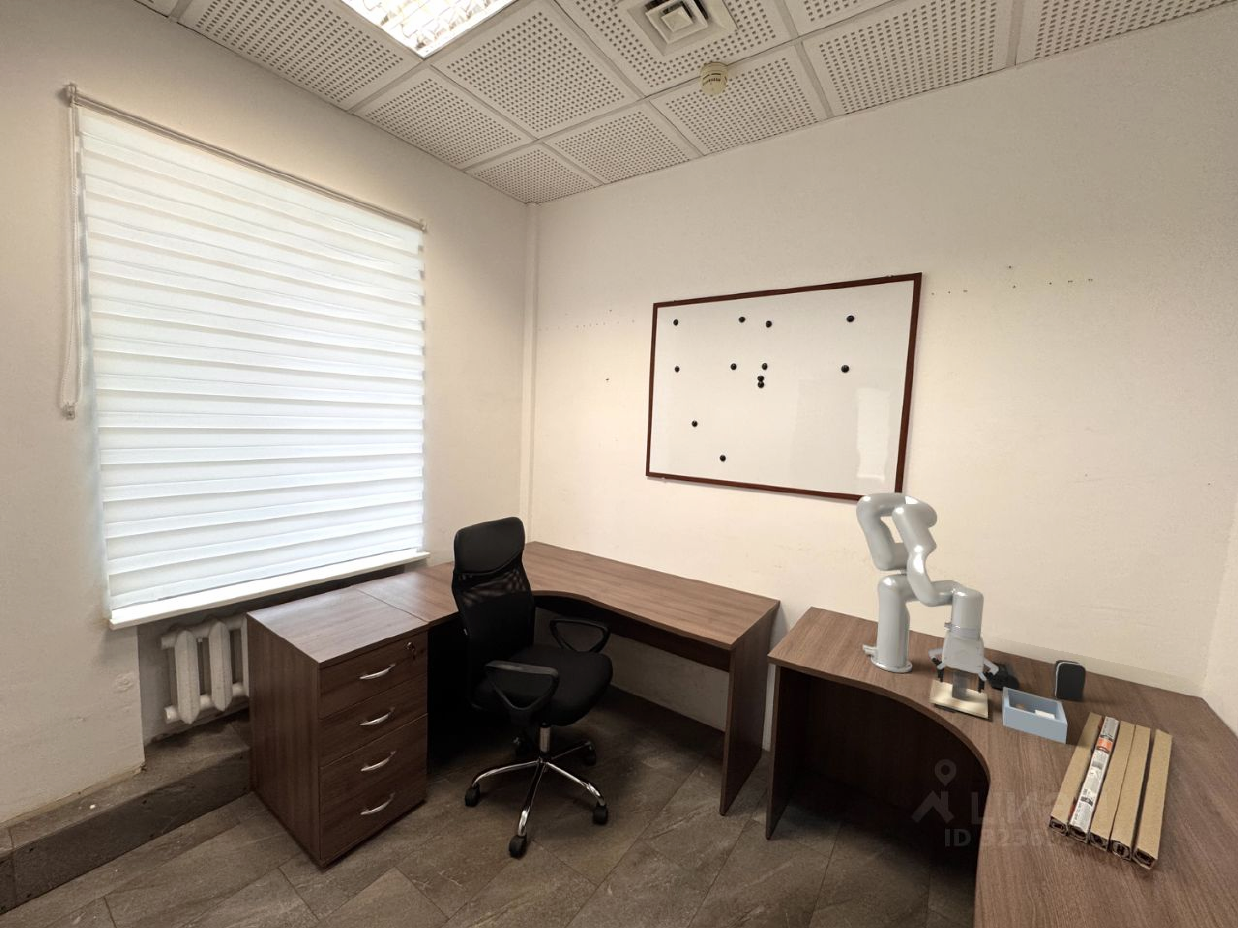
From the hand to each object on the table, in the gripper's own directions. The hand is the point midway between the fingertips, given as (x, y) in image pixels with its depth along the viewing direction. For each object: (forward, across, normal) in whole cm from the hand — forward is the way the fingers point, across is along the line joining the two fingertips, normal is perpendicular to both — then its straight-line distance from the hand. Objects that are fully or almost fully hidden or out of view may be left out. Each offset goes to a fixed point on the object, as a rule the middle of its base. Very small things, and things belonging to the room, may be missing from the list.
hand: (960, 685), depth 151 cm
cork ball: (+3, +14, +2) cm, 15 cm away
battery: (+6, +27, +25) cm, 37 cm away
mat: (+6, 0, 0) cm, 6 cm away
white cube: (+5, +20, -2) cm, 20 cm away
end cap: (+6, +11, +20) cm, 24 cm away
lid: (+4, 0, 0) cm, 4 cm away
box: (+6, +17, 0) cm, 18 cm away
